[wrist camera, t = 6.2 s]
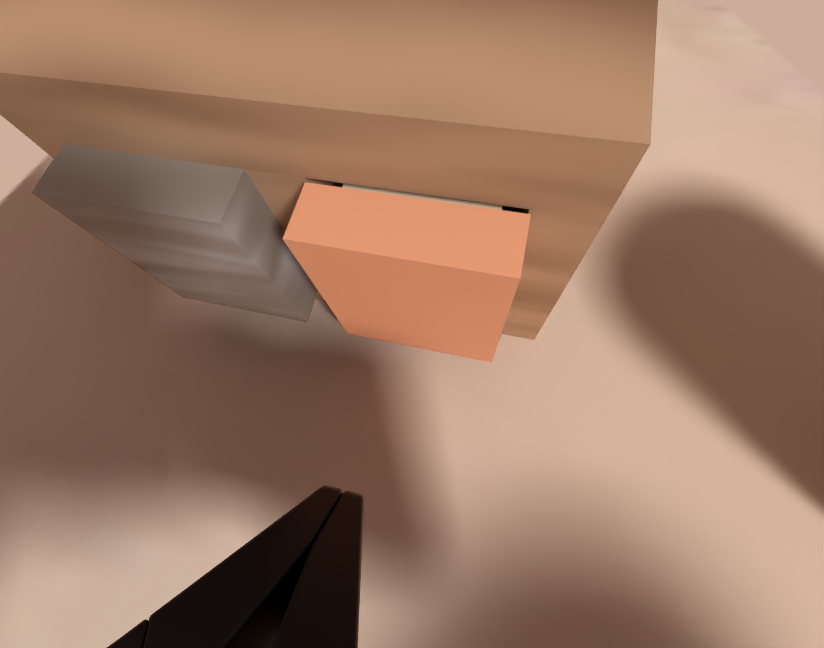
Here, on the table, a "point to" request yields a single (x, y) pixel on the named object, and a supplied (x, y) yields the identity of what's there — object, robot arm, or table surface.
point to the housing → (326, 124)
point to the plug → (411, 264)
